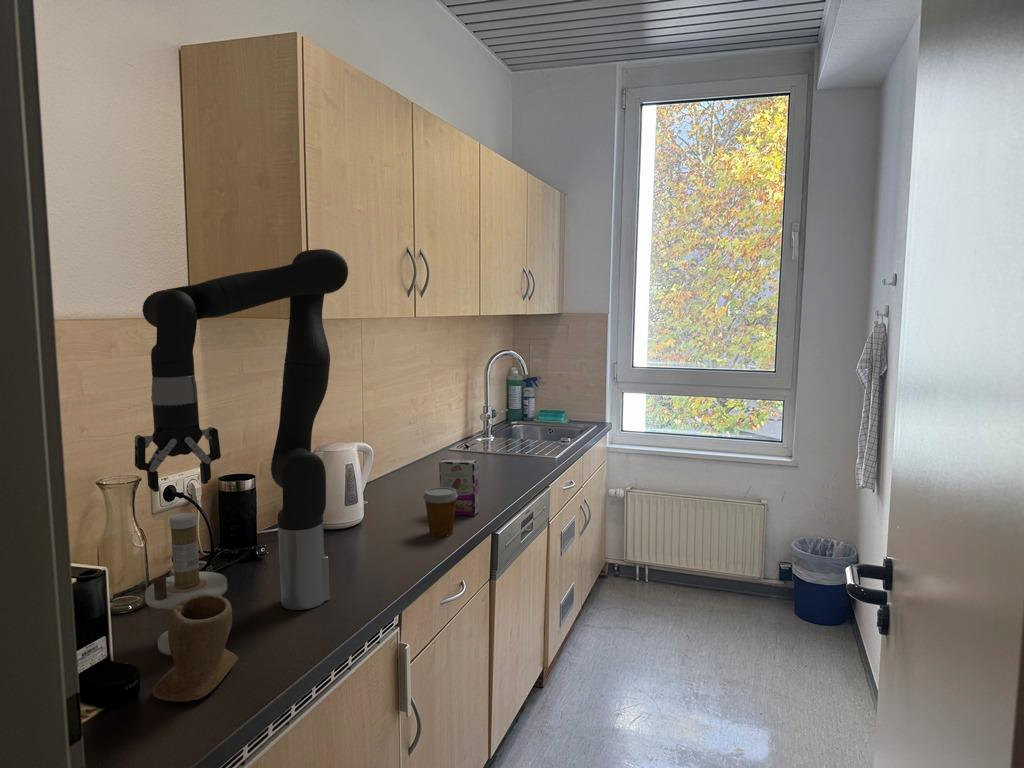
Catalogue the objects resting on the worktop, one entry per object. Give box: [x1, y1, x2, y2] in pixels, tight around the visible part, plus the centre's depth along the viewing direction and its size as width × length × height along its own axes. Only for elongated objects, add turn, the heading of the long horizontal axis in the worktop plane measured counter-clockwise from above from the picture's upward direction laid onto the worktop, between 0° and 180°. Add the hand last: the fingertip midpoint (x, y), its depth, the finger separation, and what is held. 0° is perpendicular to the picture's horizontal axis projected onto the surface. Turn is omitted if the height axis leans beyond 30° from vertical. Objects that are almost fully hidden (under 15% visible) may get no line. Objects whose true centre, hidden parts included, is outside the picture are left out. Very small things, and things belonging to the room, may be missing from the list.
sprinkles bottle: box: [169, 512, 200, 589], centre depth 132 cm, size 5×5×13 cm
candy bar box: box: [438, 458, 480, 517], centre depth 214 cm, size 11×5×16 cm, turn 76°
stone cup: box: [152, 594, 239, 703], centre depth 119 cm, size 15×12×15 cm
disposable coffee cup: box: [423, 486, 458, 537], centre depth 196 cm, size 10×10×12 cm
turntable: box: [144, 571, 228, 610], centre depth 133 cm, size 14×14×5 cm
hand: (180, 486), depth 131 cm, fingers open, 8 cm apart
